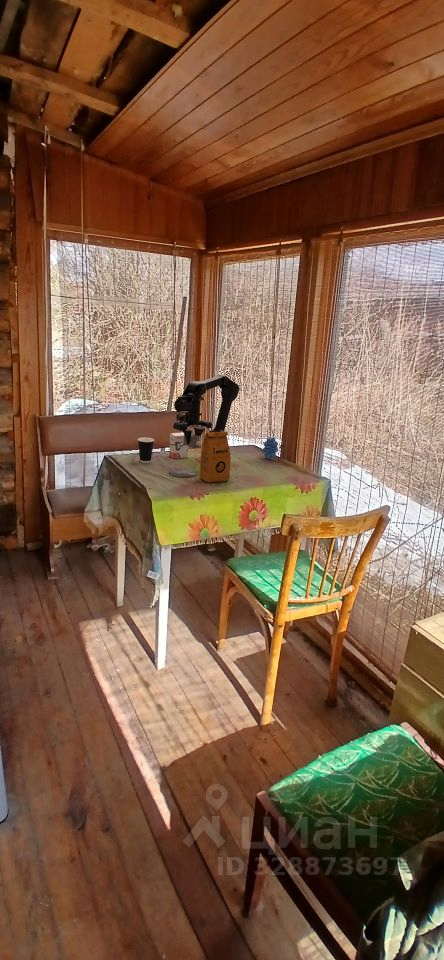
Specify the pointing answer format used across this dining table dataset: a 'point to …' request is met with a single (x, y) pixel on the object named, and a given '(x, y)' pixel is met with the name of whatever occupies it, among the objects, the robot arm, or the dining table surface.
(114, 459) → the dining table surface
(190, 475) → the gray plate
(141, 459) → the dixie cup
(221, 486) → the dining table surface
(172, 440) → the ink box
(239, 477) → the dining table surface
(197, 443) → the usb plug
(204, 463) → the coffee package
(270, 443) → the grapes
